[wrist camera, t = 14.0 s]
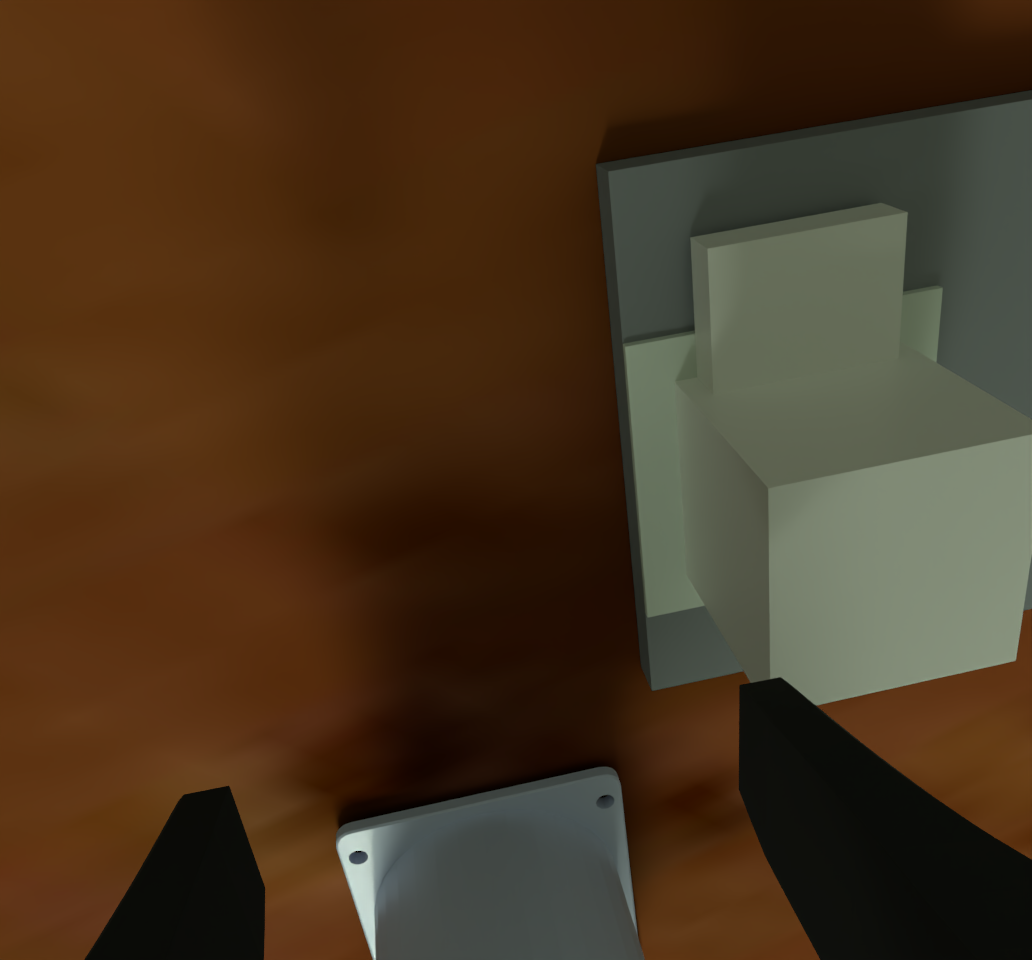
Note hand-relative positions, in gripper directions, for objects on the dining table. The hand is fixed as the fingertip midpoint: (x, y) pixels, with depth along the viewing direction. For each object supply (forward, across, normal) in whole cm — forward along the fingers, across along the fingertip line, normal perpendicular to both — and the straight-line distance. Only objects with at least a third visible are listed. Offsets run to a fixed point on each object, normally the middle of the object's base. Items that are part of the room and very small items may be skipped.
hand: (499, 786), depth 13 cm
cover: (+8, -8, -1) cm, 11 cm away
